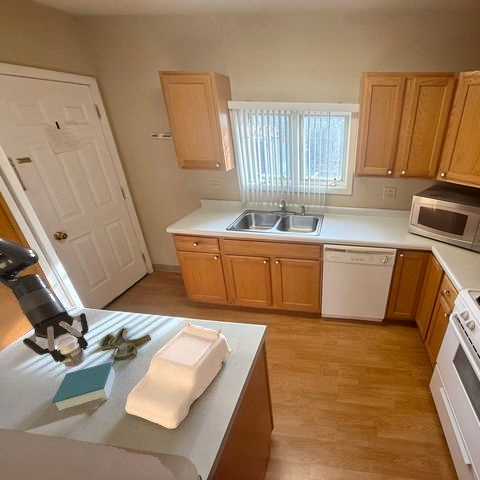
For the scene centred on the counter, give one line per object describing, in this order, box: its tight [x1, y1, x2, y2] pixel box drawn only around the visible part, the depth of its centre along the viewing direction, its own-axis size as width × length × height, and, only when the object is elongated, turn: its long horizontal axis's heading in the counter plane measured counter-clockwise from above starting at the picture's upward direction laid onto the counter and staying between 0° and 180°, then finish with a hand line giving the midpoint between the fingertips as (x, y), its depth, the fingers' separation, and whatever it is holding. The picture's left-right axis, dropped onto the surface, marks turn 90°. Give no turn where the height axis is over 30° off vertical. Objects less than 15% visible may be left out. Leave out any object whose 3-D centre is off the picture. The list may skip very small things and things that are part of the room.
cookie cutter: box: [99, 327, 152, 361], centre depth 99 cm, size 18×12×2 cm, turn 75°
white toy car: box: [124, 320, 232, 430], centre depth 85 cm, size 19×30×13 cm, turn 165°
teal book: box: [51, 361, 117, 411], centre depth 80 cm, size 12×10×6 cm
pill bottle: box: [56, 336, 87, 369], centre depth 75 cm, size 5×5×8 cm
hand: (74, 354), depth 74 cm, fingers closed on pill bottle, 4 cm apart
